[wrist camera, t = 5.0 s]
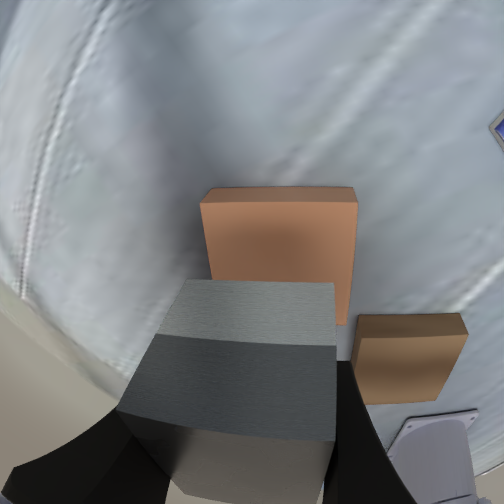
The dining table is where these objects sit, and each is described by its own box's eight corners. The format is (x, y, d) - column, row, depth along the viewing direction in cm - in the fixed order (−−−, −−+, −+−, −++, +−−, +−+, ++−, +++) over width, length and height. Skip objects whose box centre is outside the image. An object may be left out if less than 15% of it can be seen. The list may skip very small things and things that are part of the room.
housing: (322, 399, 12) (313, 511, 8) (216, 391, 13) (184, 494, 9) (333, 282, 9) (335, 440, 5) (187, 278, 10) (115, 409, 6)
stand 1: (344, 302, 18) (346, 325, 17) (227, 298, 20) (219, 320, 18) (352, 187, 15) (357, 202, 13) (211, 188, 16) (199, 203, 15)
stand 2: (431, 380, 21) (435, 400, 19) (345, 383, 22) (346, 405, 21) (459, 313, 17) (468, 334, 16) (359, 315, 19) (361, 338, 17)
